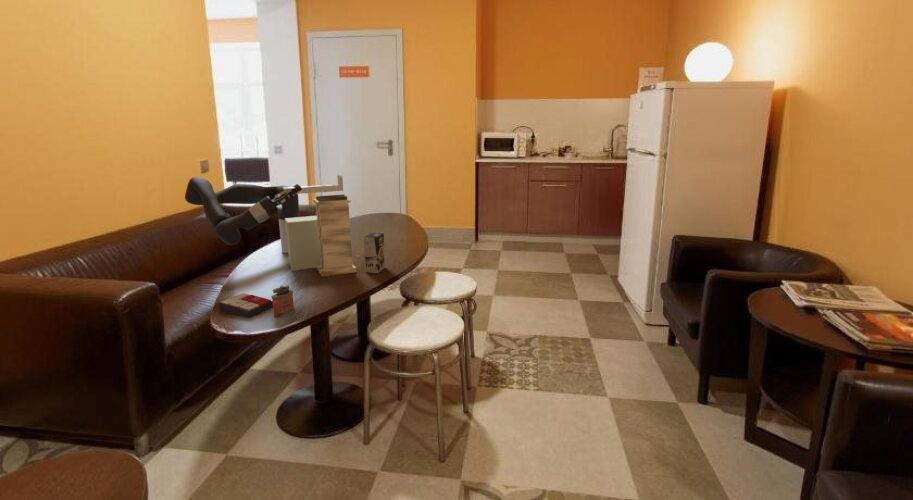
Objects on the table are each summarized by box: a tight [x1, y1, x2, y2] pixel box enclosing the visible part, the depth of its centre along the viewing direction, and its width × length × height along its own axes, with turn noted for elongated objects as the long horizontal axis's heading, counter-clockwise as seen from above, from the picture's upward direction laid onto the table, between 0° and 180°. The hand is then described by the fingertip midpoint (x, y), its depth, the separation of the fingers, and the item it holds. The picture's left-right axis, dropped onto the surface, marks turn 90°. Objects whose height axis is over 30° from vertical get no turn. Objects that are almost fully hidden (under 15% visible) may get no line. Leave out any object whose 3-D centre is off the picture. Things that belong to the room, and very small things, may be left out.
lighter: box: [271, 284, 296, 319], centre depth 173 cm, size 8×3×10 cm, turn 145°
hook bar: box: [283, 174, 344, 195], centre depth 209 cm, size 3×24×6 cm, turn 115°
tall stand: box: [312, 193, 357, 277], centre depth 218 cm, size 11×15×34 cm
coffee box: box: [363, 232, 386, 274], centre depth 221 cm, size 9×6×16 cm
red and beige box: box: [218, 292, 273, 319], centre depth 178 cm, size 11×4×15 cm
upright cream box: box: [285, 215, 321, 272], centre depth 228 cm, size 10×16×22 cm, turn 115°
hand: (299, 186), depth 207 cm, fingers closed on hook bar, 3 cm apart
